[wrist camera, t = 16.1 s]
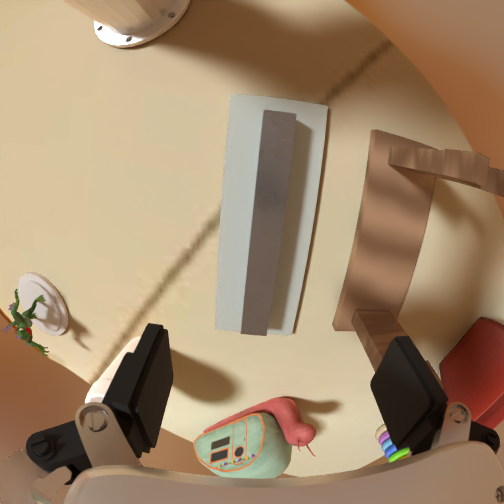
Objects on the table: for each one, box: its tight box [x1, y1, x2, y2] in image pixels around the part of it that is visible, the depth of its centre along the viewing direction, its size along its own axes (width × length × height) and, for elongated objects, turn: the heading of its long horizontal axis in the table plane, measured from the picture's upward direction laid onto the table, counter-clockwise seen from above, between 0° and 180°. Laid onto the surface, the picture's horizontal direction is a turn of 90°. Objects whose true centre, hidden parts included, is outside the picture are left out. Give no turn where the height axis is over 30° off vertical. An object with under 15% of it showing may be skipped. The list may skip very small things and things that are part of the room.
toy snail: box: [193, 397, 316, 479], centre depth 36 cm, size 25×8×14 cm, turn 132°
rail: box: [241, 110, 297, 336], centre depth 28 cm, size 24×3×3 cm, turn 174°
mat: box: [215, 94, 328, 335], centre depth 30 cm, size 28×10×1 cm, turn 175°
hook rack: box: [332, 130, 504, 387], centre depth 23 cm, size 25×9×16 cm, turn 175°
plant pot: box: [439, 317, 504, 429], centre depth 31 cm, size 19×19×17 cm
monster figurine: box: [3, 272, 69, 356], centre depth 30 cm, size 12×12×10 cm
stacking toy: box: [375, 424, 410, 462], centre depth 38 cm, size 8×8×19 cm
